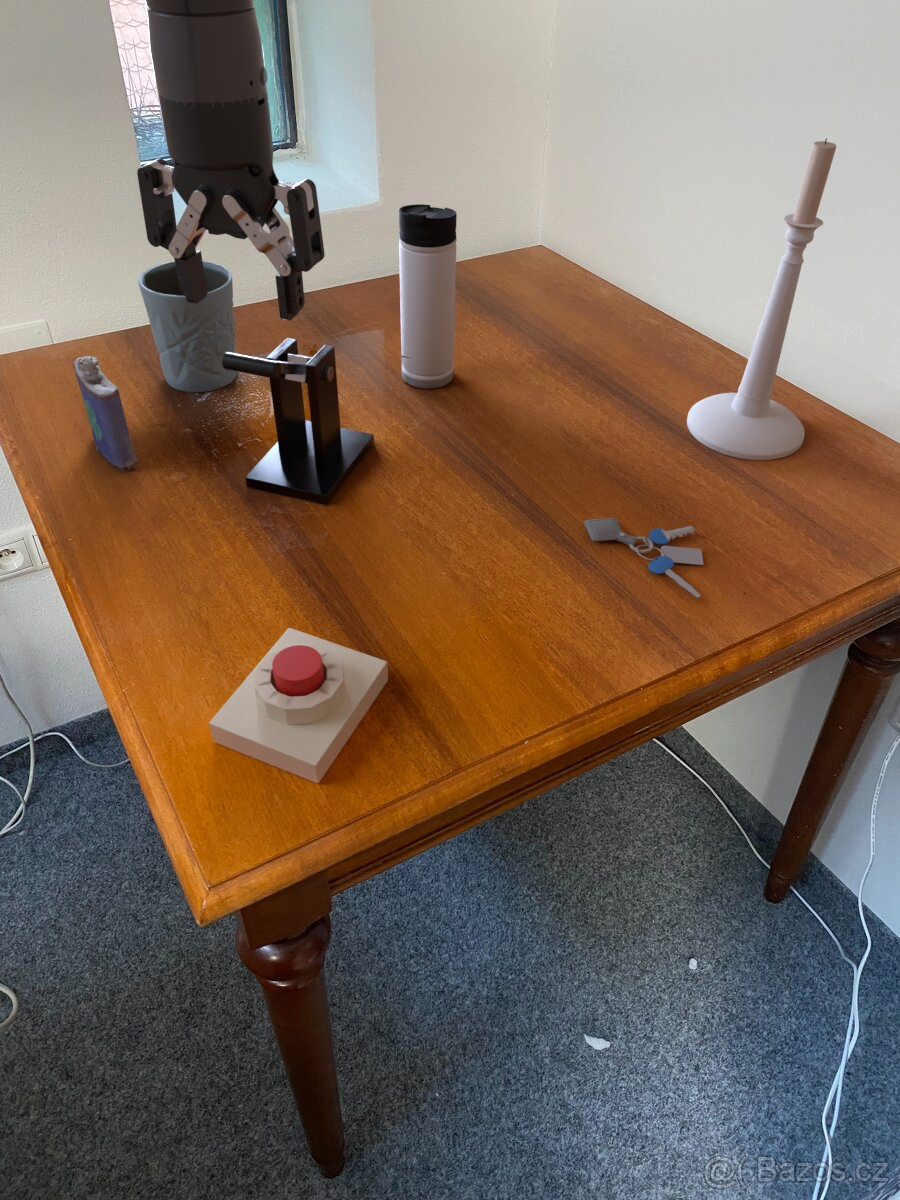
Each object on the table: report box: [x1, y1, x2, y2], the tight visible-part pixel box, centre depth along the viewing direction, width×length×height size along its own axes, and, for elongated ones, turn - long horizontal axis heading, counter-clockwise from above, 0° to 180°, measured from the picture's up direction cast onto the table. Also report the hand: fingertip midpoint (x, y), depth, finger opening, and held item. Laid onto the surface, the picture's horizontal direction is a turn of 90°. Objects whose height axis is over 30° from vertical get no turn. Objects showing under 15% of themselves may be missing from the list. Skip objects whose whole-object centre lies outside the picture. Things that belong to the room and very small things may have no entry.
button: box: [272, 645, 324, 697], centre depth 64 cm, size 4×4×2 cm
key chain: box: [583, 517, 705, 599], centre depth 82 cm, size 14×8×1 cm, turn 46°
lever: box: [222, 352, 314, 384], centre depth 80 cm, size 12×5×2 cm, turn 162°
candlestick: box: [686, 138, 837, 461], centre depth 89 cm, size 13×13×30 cm
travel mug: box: [398, 203, 458, 389], centre depth 99 cm, size 6×7×20 cm
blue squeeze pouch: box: [73, 355, 138, 472], centre depth 89 cm, size 9×3×11 cm, turn 33°
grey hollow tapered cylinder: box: [137, 260, 238, 393], centre depth 101 cm, size 10×10×12 cm
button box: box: [208, 627, 389, 784], centre depth 66 cm, size 11×9×4 cm
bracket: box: [244, 337, 375, 506], centre depth 88 cm, size 12×9×13 cm
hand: (243, 308), depth 72 cm, fingers open, 8 cm apart
